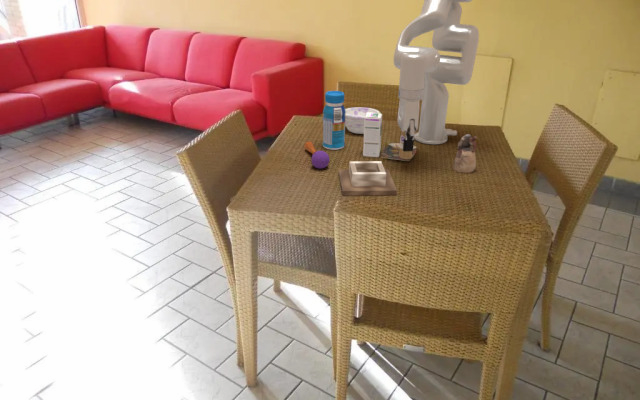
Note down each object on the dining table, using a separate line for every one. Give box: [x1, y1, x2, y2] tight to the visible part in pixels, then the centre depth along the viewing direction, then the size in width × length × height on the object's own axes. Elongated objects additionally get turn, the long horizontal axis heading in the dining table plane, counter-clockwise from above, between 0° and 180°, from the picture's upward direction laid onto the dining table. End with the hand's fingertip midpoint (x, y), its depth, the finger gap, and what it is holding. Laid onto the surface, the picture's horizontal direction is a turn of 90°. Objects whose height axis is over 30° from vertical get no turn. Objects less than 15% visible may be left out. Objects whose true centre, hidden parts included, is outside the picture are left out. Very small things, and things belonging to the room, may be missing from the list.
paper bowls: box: [345, 106, 381, 135], centre depth 194 cm, size 15×15×8 cm
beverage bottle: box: [322, 90, 346, 151], centre depth 174 cm, size 8×8×20 cm
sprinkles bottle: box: [398, 129, 413, 160], centre depth 157 cm, size 5×5×13 cm
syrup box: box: [362, 112, 383, 158], centre depth 169 cm, size 6×6×14 cm
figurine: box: [452, 133, 478, 174], centre depth 158 cm, size 7×7×12 cm
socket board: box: [338, 160, 398, 197], centre depth 149 cm, size 16×16×6 cm
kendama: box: [303, 141, 330, 170], centre depth 166 cm, size 6×6×20 cm
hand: (406, 147), depth 159 cm, fingers closed on sprinkles bottle, 4 cm apart
